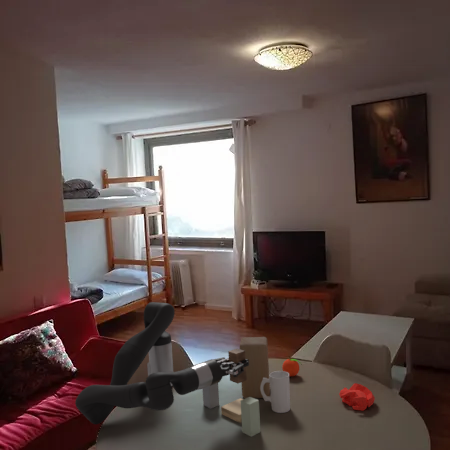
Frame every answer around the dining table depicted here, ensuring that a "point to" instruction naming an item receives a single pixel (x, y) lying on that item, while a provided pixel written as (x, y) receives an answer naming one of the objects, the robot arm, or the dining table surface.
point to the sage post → (250, 416)
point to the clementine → (291, 367)
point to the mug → (278, 391)
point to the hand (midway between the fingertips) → (243, 360)
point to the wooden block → (255, 366)
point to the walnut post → (234, 357)
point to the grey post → (211, 396)
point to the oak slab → (233, 410)
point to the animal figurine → (357, 397)
